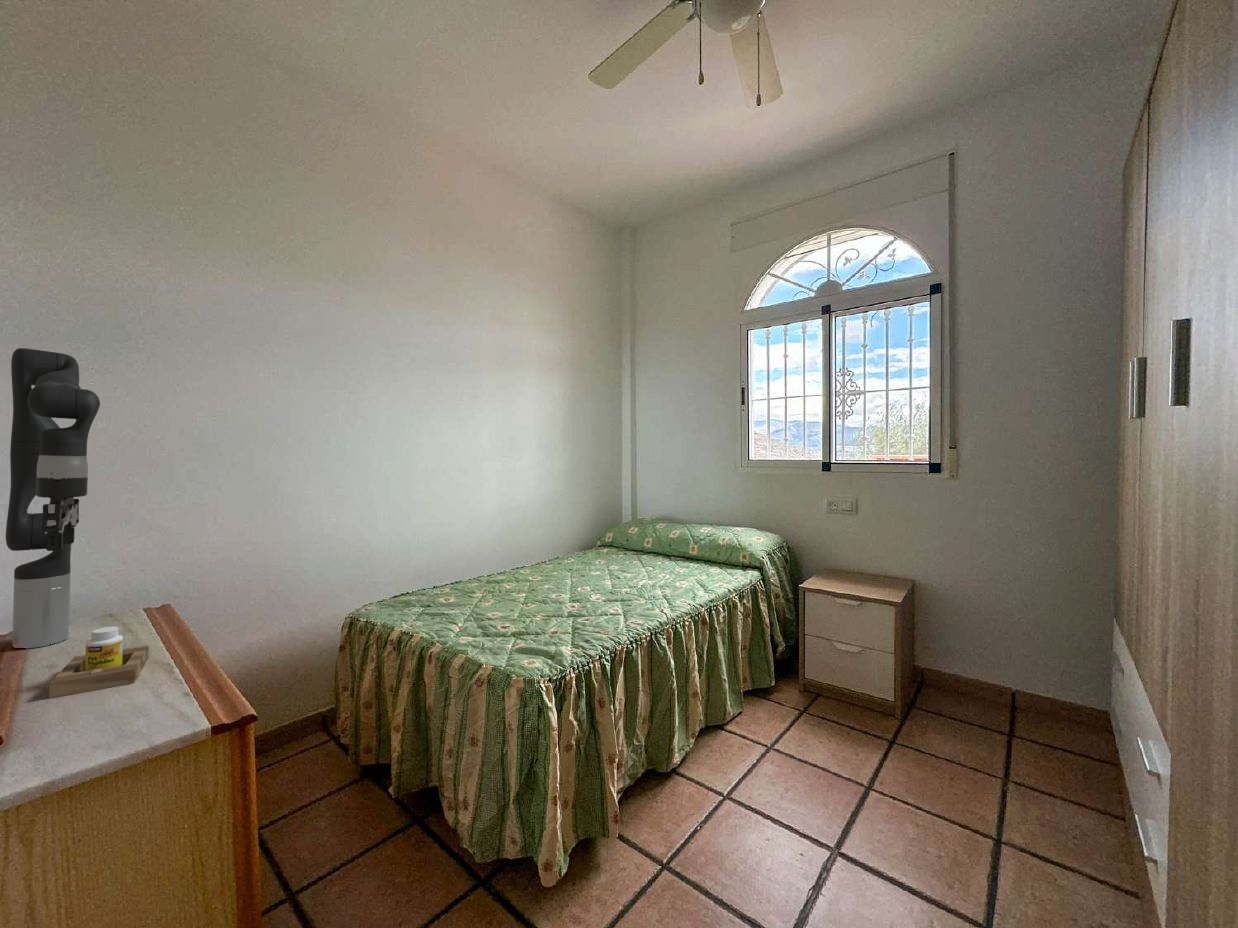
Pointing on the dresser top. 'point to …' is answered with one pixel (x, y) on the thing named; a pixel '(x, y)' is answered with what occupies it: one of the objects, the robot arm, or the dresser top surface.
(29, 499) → the robot arm
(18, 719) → the dresser top surface
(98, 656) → the supplement bottle
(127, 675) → the holder block
